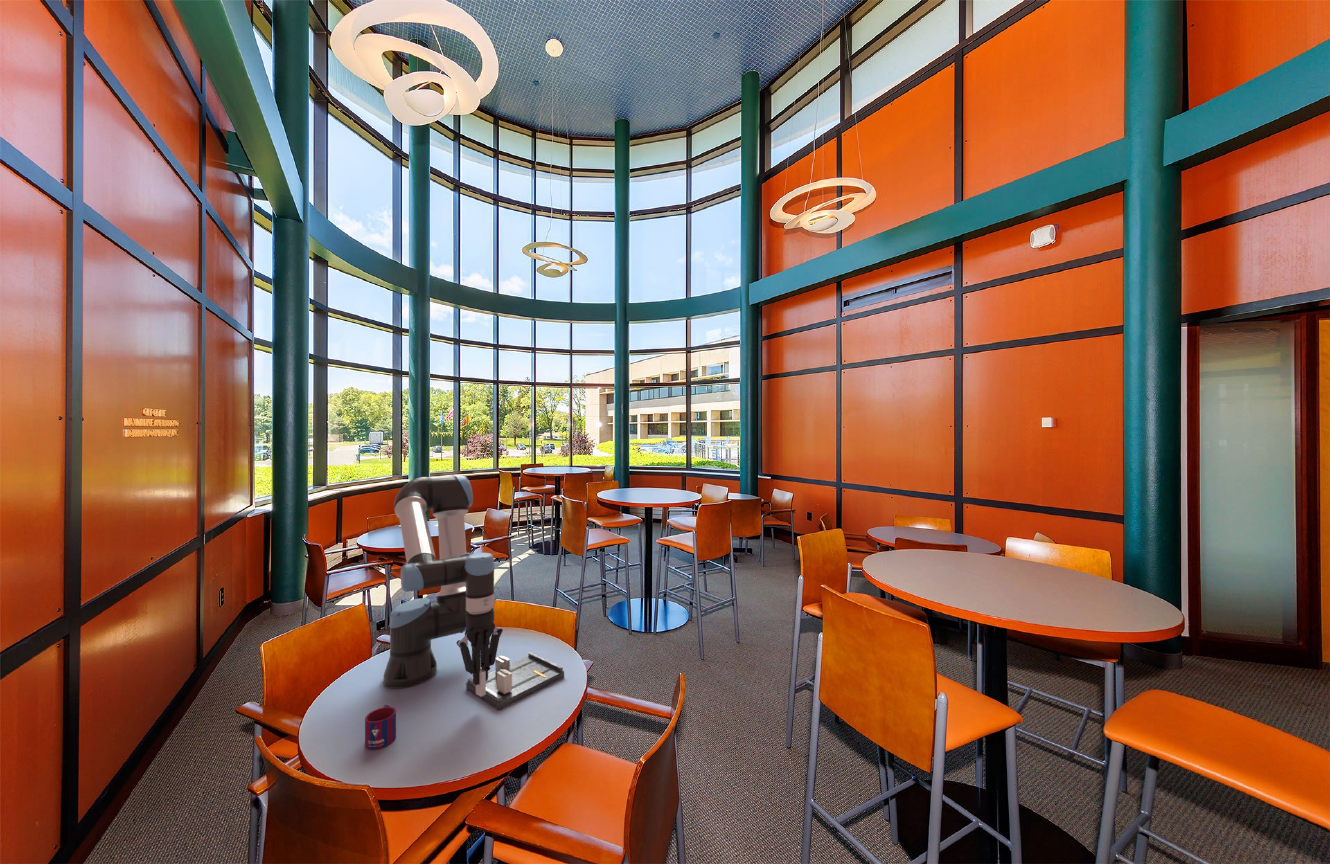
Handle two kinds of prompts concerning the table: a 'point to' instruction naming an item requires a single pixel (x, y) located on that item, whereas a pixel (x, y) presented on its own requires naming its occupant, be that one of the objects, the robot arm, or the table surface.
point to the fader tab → (504, 681)
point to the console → (518, 679)
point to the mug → (380, 728)
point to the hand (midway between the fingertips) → (480, 693)
